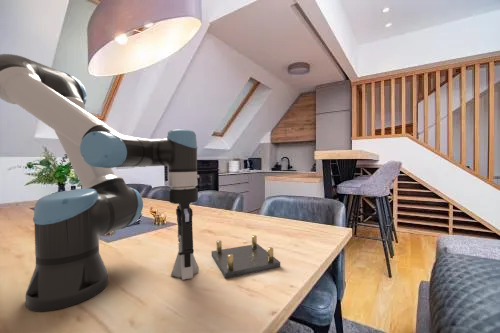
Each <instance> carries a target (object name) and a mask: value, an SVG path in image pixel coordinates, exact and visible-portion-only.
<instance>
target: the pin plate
mask: <svg viewBox="0 0 500 333" xmlns="http://www.w3.org/2000/svg"><path fill="white" fill-rule="evenodd" d="M257 241H258V239H257V235H251V244H248V245H240V246H236V247H230V248H223V249H222V246H223V243H222V242H223V241H222V240H220V239H219V240H216V250H211V257H212V259H213V261H214V263H215V264H216V266H217V267H218V269H219V271H220V272H221V274H222V276H223V278H224V279H225V280H227V279H231V278H235V277H241V276H247V275H250V274H255V273H261V272H265V271H269V270H274V269H280V268H281V261H280V260H278V259H277V258H276V257H275V256H274V247H267V249H265V248H263V247H262V246H261V245H260V244H258V243H257Z"/></svg>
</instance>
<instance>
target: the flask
mask: <svg viewBox="0 0 500 333" xmlns="http://www.w3.org/2000/svg"><path fill="white" fill-rule="evenodd" d="M177 238H178V239H179V241H180V242H179V241H178V242H179V243H180V244H179V245H178V251H177V254H176V258H175V262H174V264H173V268H172V270H171V274H170V276H173V277H175V278H181V279H182V270H181V255H179V253H181V251H182V243H181V235H179V237H178V236H177ZM178 239H177V240H178ZM192 260H193V276H194V275H195V274H197V273H198V272H199V268H200V267H199V265H198V262H197V260H196V257H195V256H194V253H192Z"/></svg>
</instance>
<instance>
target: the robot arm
mask: <svg viewBox="0 0 500 333" xmlns="http://www.w3.org/2000/svg"><path fill="white" fill-rule="evenodd" d="M86 90H87V89H86V88H85V86H84V84H83V83H82V82H81V81H80V80H79V79H77V78H76V77H75V76H72V75H70V74H69V73H67V72H64V71H62V70H57V69H55V68H53V67H50V66H48V65H45V64H42V63H41V62H37V61H34V60H33V59H30V58H27V57H25V56H21V55H18V54H11V53H10V54H9V53H1V54H0V99H1V100H2V101H4V102H6V103H9V104H12V105H17V106H19V107H20V108H22V109H23V110H25V111H26V112H28V113H29V114H30V115H32V116H34V117H35V118H37V120H40V121H41V122H42V123H44V124H45V125H47V126H48V127H50V128H51V129H52V130H54V132H55V135H56V136H57V139H58V140H59V143H60V144H61V146H62V149H63V151H64V153H65V154H66V156H67V158H68V161H69V162H70V164H71V166H72V169H73V170H74V172H75V174H76V176H77V178H78V180H79V182H80V185H81V186H82V188H76V189H75V188H74V189H70V190H61V191H58V192H54V193H50V194H48V195H45V196H42V197H40V198H39V199H38V200H37V201H36V202H35V203H34V209H33V210H34V211H33V212H34V213H33V218H32V221H33V223H34V248H35V249H34V250H35V267H34V270H33V272H32V275H31V278H30V281H29V284H28V286H27V289H26V292H25V297H24V298H25V299H24V300H25V307H26V309H28V310H30V311H34V312H50V311H56V310H61V309H64V308H68V307H72V306H74V305H77V304H80V303H83V302H85V301H88V300H90V299H91V298H93V297H95V296H96V295H98V294H100V293H101V292H102V291H103V290H105V289H106V287H107V286H108V284H109V272H108V270H107V267H106V265H105V263H104V260H103V258H102V256H101V253H100V243H99V242H100V237H103V236H105V235H107V234H108V235H109V234H110V233H113V232H115V231H119V230H122V229H125V228H126V227H128V226H130V225H133V224H134V223H135V222H136V221H138V219H139V218H140V217H141V215H142V212H143V209H144V201H143V197H142V195H141V194H140V192H139V191H138V190H137V189H135V188H132V187H130V186H128V185H127V184H126V182H125V180H124V178H123V177H121V176H118V175H115V173H114V171H113V168H114V169H115V168H125V167H126V168H130V167H131V168H133V167H137V168H139V167H140V168H147V167H167V168H168V173H167V175H168V187H169V188H170V189H168V201H169V203H171V204H173V205H177V204H178V205H177V207H176V209H175V214H176V222H177V238H178V237H179V235H181V243H182V251H181V253H179V255H181V270H182V277H181V280H188V279H193V278H194V275H193V260H192V253H193V254H194V250H195V249H194V236H193V216H194V214H193V209H192V207H191V206H190V205H191V203H192V204H193V203H196V202H198V201H199V189H198V187H197V186H198V184H199V183H198V179H200V174H198V145H197V144H198V142H197V135H196V133H195V131H193V130H191V129H190V130H189V129H170V130H169V131H167V136H166V138H144V137H137V136H132V135H126V134H122V133H120V132H118V131H116V129H114V128H112V127H110V126H109V125H108V124H106V123H104V122H103V121H101V120H100V119H98V118H97V117H96V116H94V115H92V114H91V113H90V112H87V111H86V110H85V107H86V106H85V105H86V104H87V103H86V102H87V98H86V97H87V95H88V94H87V91H86ZM177 242H178V244H177V245H178V246H179V244H180V241H179V239H177Z"/></svg>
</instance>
